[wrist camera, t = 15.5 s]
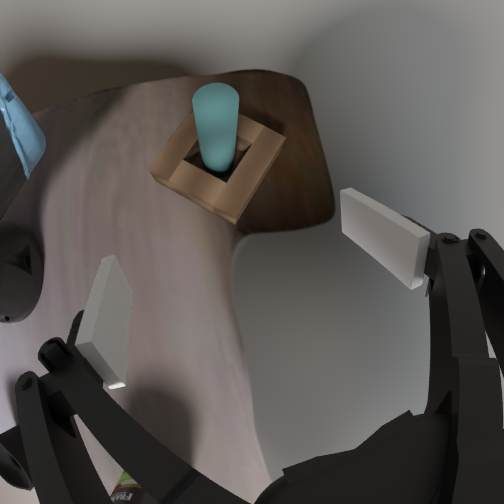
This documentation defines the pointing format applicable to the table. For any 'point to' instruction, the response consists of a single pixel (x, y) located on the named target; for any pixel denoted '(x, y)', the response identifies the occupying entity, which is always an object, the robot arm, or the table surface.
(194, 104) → the teal pin
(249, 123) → the walnut hole block
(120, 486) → the coffee can
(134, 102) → the table surface
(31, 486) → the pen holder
